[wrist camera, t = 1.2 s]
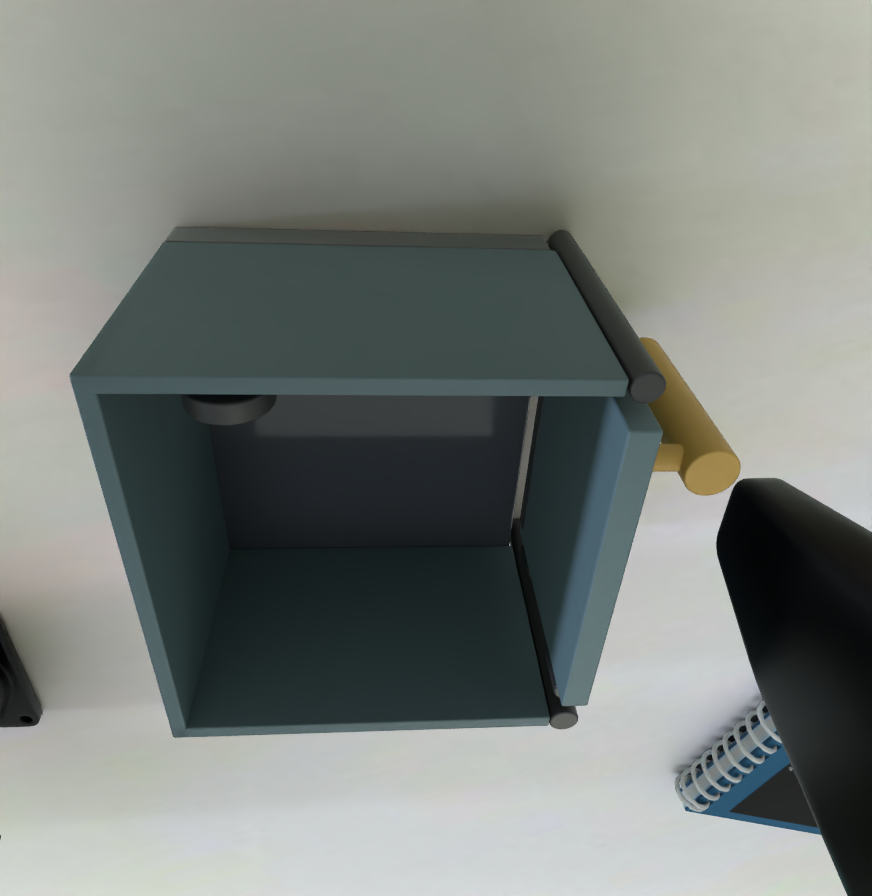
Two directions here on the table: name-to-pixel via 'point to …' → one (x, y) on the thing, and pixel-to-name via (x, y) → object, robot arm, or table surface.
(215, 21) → the table surface
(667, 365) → the door panel with handle
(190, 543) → the hinged door cabinet
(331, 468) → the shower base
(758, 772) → the sketchbook
